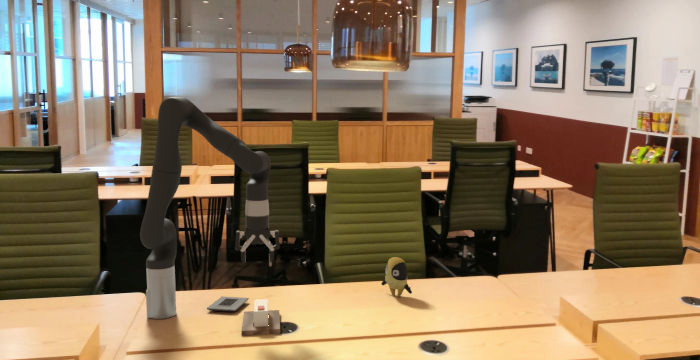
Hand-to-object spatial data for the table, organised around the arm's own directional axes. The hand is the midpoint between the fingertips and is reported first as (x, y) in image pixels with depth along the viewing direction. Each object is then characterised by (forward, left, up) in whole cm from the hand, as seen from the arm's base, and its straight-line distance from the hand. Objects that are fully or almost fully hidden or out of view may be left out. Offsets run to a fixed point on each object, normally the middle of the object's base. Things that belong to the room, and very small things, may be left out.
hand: (257, 262), depth 197 cm
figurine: (+51, +22, -21) cm, 59 cm away
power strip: (+1, -1, -21) cm, 21 cm away
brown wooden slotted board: (+1, -1, -21) cm, 21 cm away
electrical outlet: (-11, +17, -21) cm, 30 cm away
